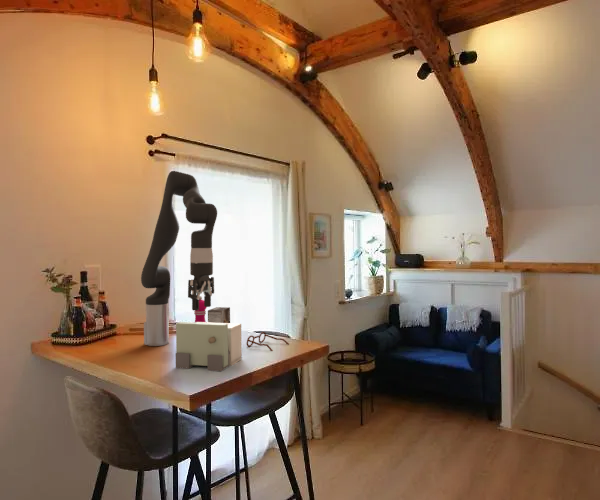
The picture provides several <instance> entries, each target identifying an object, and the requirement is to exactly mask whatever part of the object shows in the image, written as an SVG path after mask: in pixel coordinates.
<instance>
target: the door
mask: <svg viewBox="0 0 600 500" xmlns="http://www.w3.org/2000/svg"><path fill="white" fill-rule="evenodd" d="M175 325H176V326H175V331H176V332H175V338H176V339H175V342H176V343H175V345H176V346H175V348H176V349H175V350H176V351H175V354H176V353H190V365H195V366H202V367H203V366H205V367H206V366H207V367H208V358H207V355H222V357H223V367H225V366H227V365H228V324H221V323H197V322H195V321H194V322H193V321H190V322H189V321H179V322H176V323H175Z"/></svg>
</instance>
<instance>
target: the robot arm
mask: <svg viewBox="0 0 600 500" xmlns="http://www.w3.org/2000/svg"><path fill="white" fill-rule="evenodd" d="M199 189H200V188H199V185H198V182H197V178H195V177H194V176H193V175H191V174H190V173H186V172H181V171H176V170H171V171H169V173H168V175H167V178H166V182H165V187H164V191H163V196H162V203H161V205H160V210H159V215H158V218H157V221H156V224H155V229H154V233H153V237H152V241H151V245H150V248H149V251H148V255H147V257H146V260H145V263H144V264H143V265H144V266H143V268H142V272H141V276H140V281H141V285H142V287H143V288H145V289H155V291H154V292H153V293H152V294H150V295H149V296H147V297H146V298H145V321H144V322H143V344H144V345H146V346H149V347H157V346H159V347H160V346H165V345H167V344H169V343H170V342H169V340H170V338H169V337H170V336H169V334H170V333H169V332H170V329H169V328H170V327H169V319H170V317H169V299H170V296H171V272H170V269H169V268H168V267H167V266H164V265H160V263H161V261H162V259H163V258H164V257H165V255H166V254H167V253H168V252H169V251H170V250H171V249H172V248H173V247H174V245H175V244H176V241H177V240H178V235H179V232H180V223H179V220H178V217H177V214H176V212H175V208H174V205H173V203H174V202H173V199H174V195H175V196H179V197H182V203H183V205H184V207H185V208H186V209H185V219H186V221H187V222H189V223H191V224H196V225H197V224H198V225H199V224H201V225H202V224H204V225H205V226H204V227H203V228H202V229H199V230H194V231H192V232H191V234H190V255H189V257H190V258H189V261H190V263H189V264H190V265H189V269H190V275H191V276H193V279H188V280H187V281H188V282H187V283H188V284H187V285H188V286H187V298H188V299H190V300H191V302H192V303H191V310H192V311H197V310H199V296H201V294H203V295H204V297H203V300H204V306H205V307H207V308H210V307H212V298H211V297H212V296H213V295H214V294H215V277H214V276H212V275H213V273H214V263H213V261H214V258H213V257H214V255H213V254H214V253H213V232H214V230H215V229H214V228H215V225H216V221H217V217H218V209H217V207H216V205H214V204H213V203H206V201H205V199H204V197H203V195H201V193H200V190H199Z"/></svg>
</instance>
